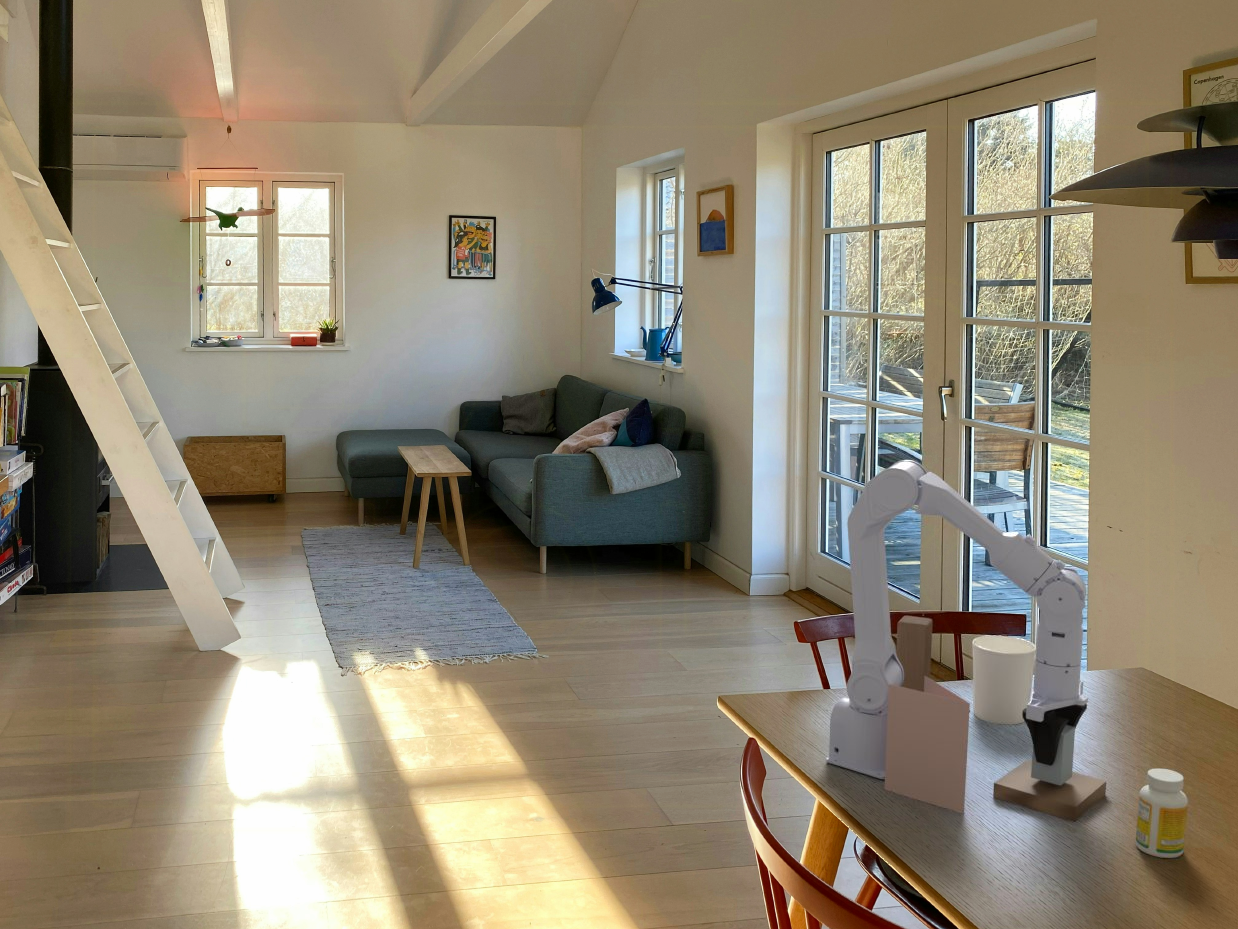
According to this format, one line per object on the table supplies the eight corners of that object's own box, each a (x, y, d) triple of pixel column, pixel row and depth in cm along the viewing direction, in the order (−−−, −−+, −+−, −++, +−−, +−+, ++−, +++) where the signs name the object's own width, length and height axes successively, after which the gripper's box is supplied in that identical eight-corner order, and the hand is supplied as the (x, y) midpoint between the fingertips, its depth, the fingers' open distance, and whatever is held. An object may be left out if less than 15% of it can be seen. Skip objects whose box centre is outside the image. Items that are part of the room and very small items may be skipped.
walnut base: (993, 797, 157) (993, 783, 156) (1026, 772, 165) (1027, 759, 165) (1074, 821, 149) (1075, 807, 149) (1105, 795, 158) (1106, 781, 157)
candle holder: (1024, 731, 181) (1029, 657, 179) (961, 719, 186) (965, 646, 184) (1038, 712, 189) (1042, 641, 187) (977, 701, 194) (981, 632, 192)
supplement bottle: (1128, 849, 142) (1134, 774, 141) (1144, 835, 146) (1149, 762, 145) (1175, 864, 138) (1181, 787, 137) (1189, 849, 142) (1195, 774, 141)
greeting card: (969, 813, 152) (975, 702, 150) (918, 818, 150) (924, 707, 148) (925, 778, 163) (930, 675, 161) (877, 783, 161) (881, 679, 159)
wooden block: (957, 735, 179) (963, 622, 176) (951, 745, 175) (957, 629, 172) (899, 725, 183) (903, 614, 180) (892, 734, 179) (897, 621, 176)
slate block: (1030, 777, 157) (1034, 727, 156) (1042, 769, 159) (1045, 720, 159) (1060, 785, 154) (1063, 735, 153) (1071, 777, 157) (1075, 727, 156)
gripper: (1067, 680, 146) (1060, 782, 148) (1108, 654, 157) (1101, 750, 159) (1013, 668, 151) (1007, 767, 153) (1056, 644, 162) (1050, 737, 164)
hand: (1051, 758), depth 156 cm, fingers open, 4 cm apart
